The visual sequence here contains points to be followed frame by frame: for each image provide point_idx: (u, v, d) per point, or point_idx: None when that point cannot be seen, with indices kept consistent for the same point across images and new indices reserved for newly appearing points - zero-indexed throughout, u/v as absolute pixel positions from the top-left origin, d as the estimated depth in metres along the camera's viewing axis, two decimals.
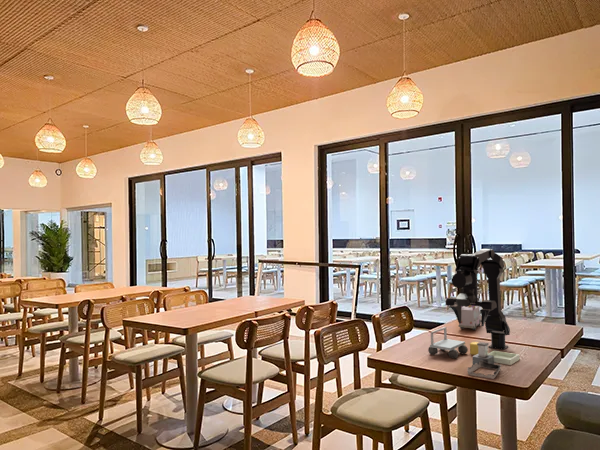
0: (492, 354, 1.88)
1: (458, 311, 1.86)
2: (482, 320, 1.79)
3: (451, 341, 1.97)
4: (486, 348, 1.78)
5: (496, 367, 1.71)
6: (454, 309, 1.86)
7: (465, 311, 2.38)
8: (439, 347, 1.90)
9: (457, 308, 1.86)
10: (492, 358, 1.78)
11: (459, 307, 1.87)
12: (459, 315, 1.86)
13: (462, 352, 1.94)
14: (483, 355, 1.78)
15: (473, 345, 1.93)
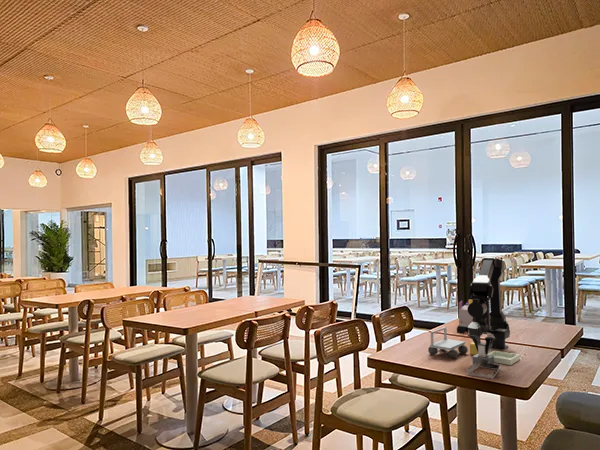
0: (492, 354, 1.88)
1: (477, 340, 1.80)
2: (486, 348, 1.77)
3: (451, 341, 1.97)
4: None
5: (495, 367, 1.72)
6: (473, 338, 1.80)
7: (465, 311, 2.38)
8: (439, 347, 1.90)
9: (476, 337, 1.80)
10: (492, 358, 1.78)
11: (478, 336, 1.81)
12: None
13: (462, 352, 1.94)
14: (483, 355, 1.78)
15: (473, 345, 1.93)
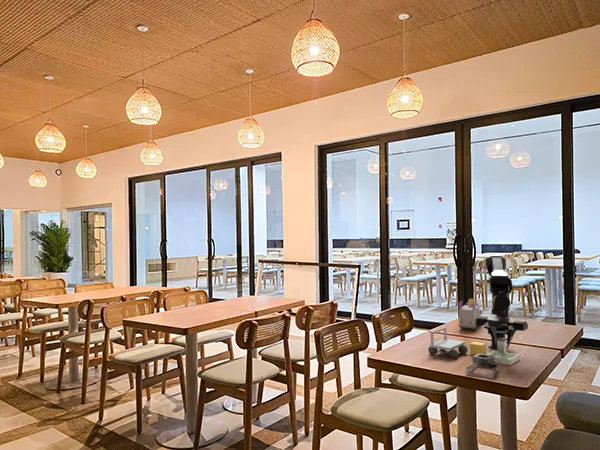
0: (492, 354, 1.88)
1: (493, 332, 1.86)
2: (508, 340, 1.81)
3: (451, 341, 1.97)
4: (505, 343, 1.83)
5: (493, 366, 1.72)
6: (489, 330, 1.85)
7: (465, 311, 2.38)
8: (439, 347, 1.90)
9: (492, 329, 1.85)
10: (492, 358, 1.78)
11: (494, 327, 1.87)
12: (494, 336, 1.86)
13: (462, 352, 1.94)
14: (502, 350, 1.82)
15: (473, 345, 1.93)
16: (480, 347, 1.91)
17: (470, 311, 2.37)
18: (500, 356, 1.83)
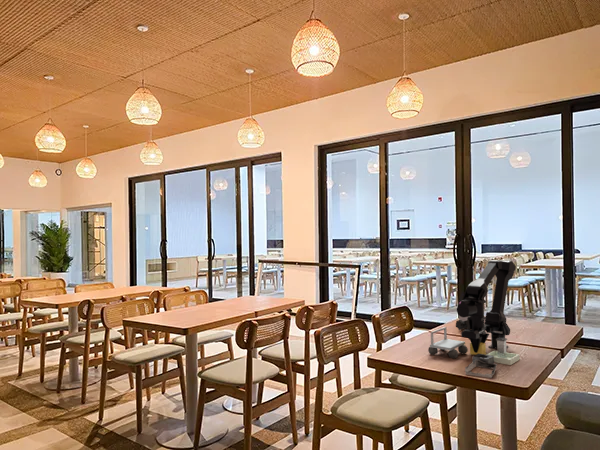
0: (492, 354, 1.88)
1: None
2: None
3: (451, 341, 1.97)
4: (505, 343, 1.83)
5: (491, 366, 1.73)
6: None
7: None
8: (439, 347, 1.90)
9: None
10: (492, 358, 1.78)
11: (482, 335, 1.95)
12: (479, 342, 1.95)
13: (462, 352, 1.94)
14: (502, 350, 1.82)
15: None
16: (480, 347, 1.91)
17: None
18: (500, 356, 1.83)
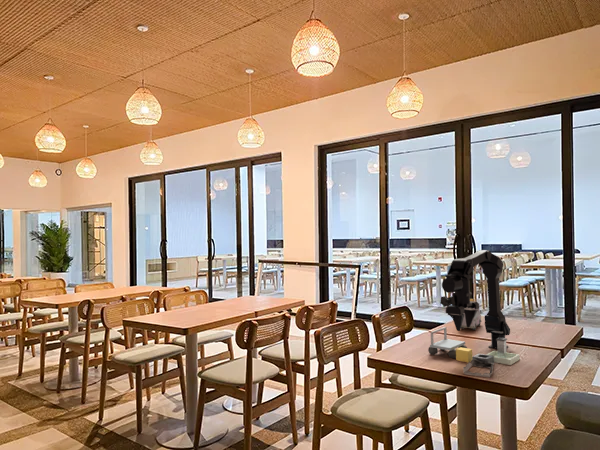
0: (492, 354, 1.88)
1: (467, 315, 1.89)
2: None
3: (451, 341, 1.97)
4: (505, 343, 1.83)
5: (488, 365, 1.74)
6: None
7: None
8: (439, 347, 1.90)
9: (466, 311, 1.89)
10: (492, 358, 1.78)
11: (470, 311, 1.88)
12: (467, 319, 1.88)
13: None
14: (502, 350, 1.82)
15: (459, 351, 1.84)
16: (466, 353, 1.82)
17: None
18: (500, 356, 1.83)
